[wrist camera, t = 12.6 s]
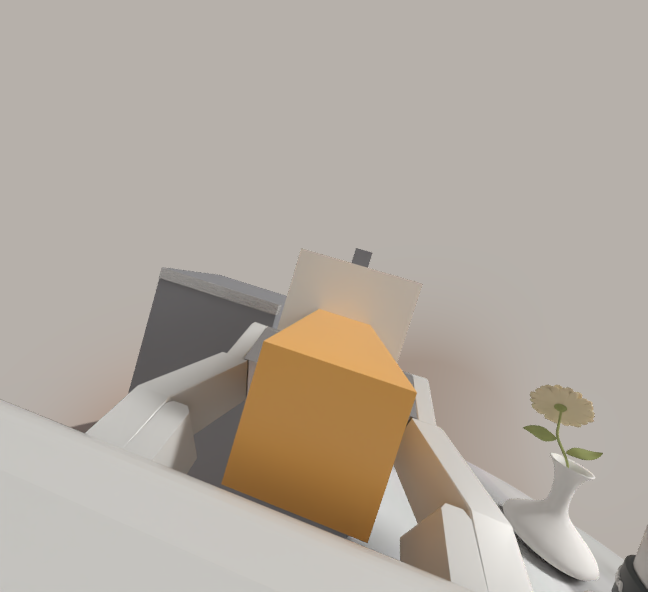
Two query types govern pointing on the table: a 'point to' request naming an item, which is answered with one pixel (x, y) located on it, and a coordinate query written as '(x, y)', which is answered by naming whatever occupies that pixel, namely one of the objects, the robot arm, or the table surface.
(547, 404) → the flower in vase
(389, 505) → the table surface
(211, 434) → the stand
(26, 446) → the robot arm
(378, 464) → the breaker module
